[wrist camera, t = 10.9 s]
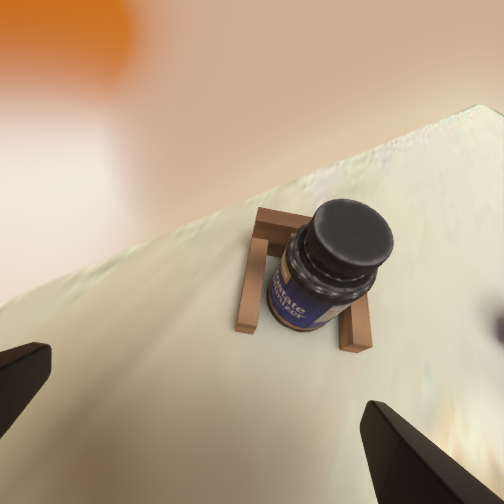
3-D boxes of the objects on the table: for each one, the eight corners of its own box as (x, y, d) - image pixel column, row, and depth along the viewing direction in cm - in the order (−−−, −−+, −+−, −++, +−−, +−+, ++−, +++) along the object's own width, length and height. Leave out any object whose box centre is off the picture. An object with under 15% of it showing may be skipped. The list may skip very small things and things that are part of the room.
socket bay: (357, 352, 22) (391, 338, 18) (235, 331, 22) (240, 311, 17) (350, 258, 27) (375, 229, 23) (251, 239, 27) (258, 207, 22)
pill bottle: (254, 284, 24) (279, 204, 15) (307, 261, 26) (358, 178, 17) (289, 346, 21) (347, 297, 12) (344, 315, 23) (430, 252, 14)
